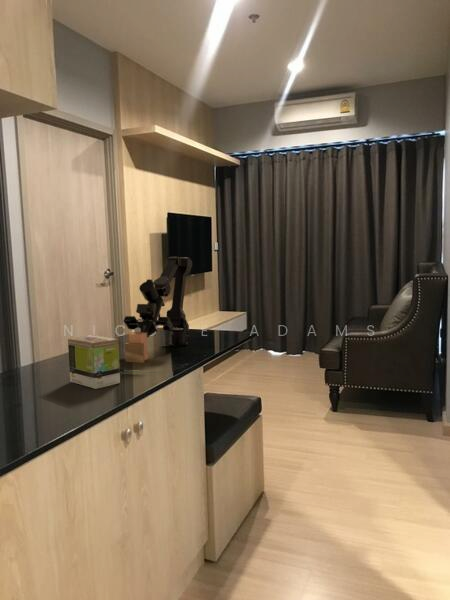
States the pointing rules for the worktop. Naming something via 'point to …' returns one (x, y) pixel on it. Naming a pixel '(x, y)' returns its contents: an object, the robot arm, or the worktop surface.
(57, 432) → the worktop surface
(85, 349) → the tea box
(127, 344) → the track
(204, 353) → the worktop surface
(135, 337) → the slider
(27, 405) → the worktop surface
